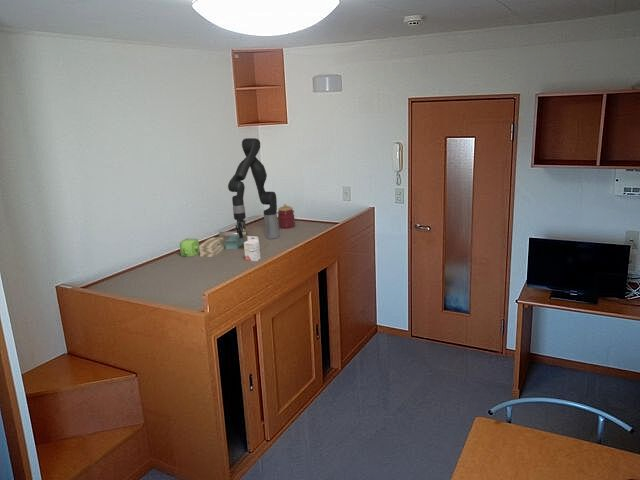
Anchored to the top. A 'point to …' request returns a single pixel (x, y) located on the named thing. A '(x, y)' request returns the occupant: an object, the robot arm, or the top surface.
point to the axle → (232, 234)
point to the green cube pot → (189, 247)
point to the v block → (234, 242)
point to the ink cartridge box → (252, 249)
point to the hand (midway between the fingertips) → (242, 237)
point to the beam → (211, 247)
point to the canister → (286, 217)
